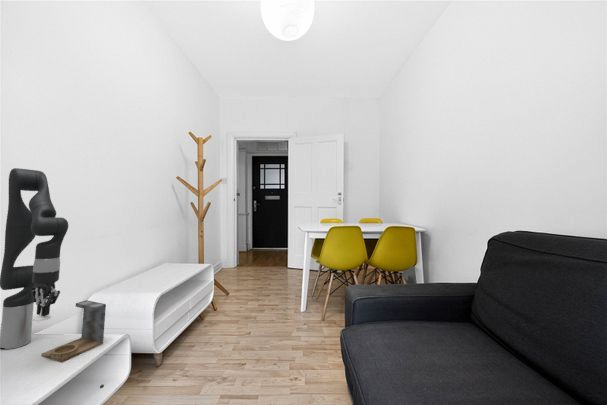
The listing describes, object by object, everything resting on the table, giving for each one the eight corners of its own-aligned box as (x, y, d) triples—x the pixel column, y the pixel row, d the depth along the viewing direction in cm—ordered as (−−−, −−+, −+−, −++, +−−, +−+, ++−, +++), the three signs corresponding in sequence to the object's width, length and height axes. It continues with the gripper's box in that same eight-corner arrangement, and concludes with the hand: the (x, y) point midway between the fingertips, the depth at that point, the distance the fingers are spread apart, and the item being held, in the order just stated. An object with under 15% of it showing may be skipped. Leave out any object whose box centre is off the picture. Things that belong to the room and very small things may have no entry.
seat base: (40, 356, 109) (44, 312, 109) (83, 338, 124) (86, 300, 125) (61, 362, 105) (64, 317, 106) (103, 343, 121) (105, 304, 121)
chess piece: (40, 322, 101) (42, 295, 101) (29, 320, 102) (32, 293, 102) (54, 317, 106) (56, 291, 106) (44, 315, 107) (46, 290, 107)
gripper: (22, 269, 103) (18, 315, 102) (47, 273, 99) (43, 321, 98) (46, 265, 110) (42, 308, 110) (70, 269, 106) (66, 314, 106)
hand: (42, 314), depth 104 cm, fingers closed on chess piece
